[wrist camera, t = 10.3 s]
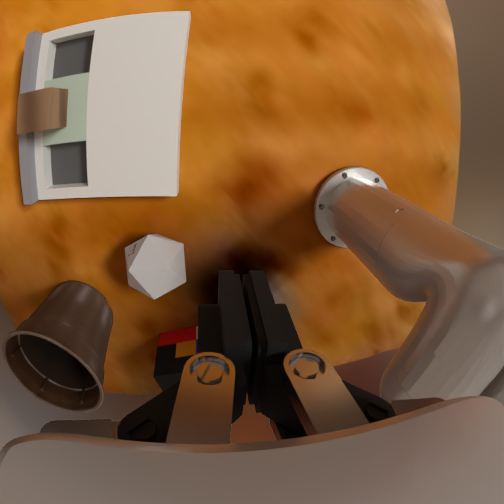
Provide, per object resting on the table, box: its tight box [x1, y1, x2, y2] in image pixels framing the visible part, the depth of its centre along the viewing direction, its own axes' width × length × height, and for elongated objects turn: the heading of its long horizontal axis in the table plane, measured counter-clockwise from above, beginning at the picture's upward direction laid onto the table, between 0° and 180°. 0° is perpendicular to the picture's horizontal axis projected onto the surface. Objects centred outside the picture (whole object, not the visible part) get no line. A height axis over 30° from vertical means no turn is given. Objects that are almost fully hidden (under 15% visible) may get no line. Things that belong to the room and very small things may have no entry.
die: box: [125, 234, 186, 300], centre depth 38 cm, size 8×9×10 cm
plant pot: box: [2, 281, 113, 413], centre depth 36 cm, size 16×16×16 cm
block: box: [17, 87, 69, 135], centre depth 25 cm, size 5×5×5 cm
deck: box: [18, 11, 191, 205], centre depth 29 cm, size 22×24×4 cm
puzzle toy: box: [154, 326, 198, 391], centre depth 45 cm, size 10×10×10 cm
